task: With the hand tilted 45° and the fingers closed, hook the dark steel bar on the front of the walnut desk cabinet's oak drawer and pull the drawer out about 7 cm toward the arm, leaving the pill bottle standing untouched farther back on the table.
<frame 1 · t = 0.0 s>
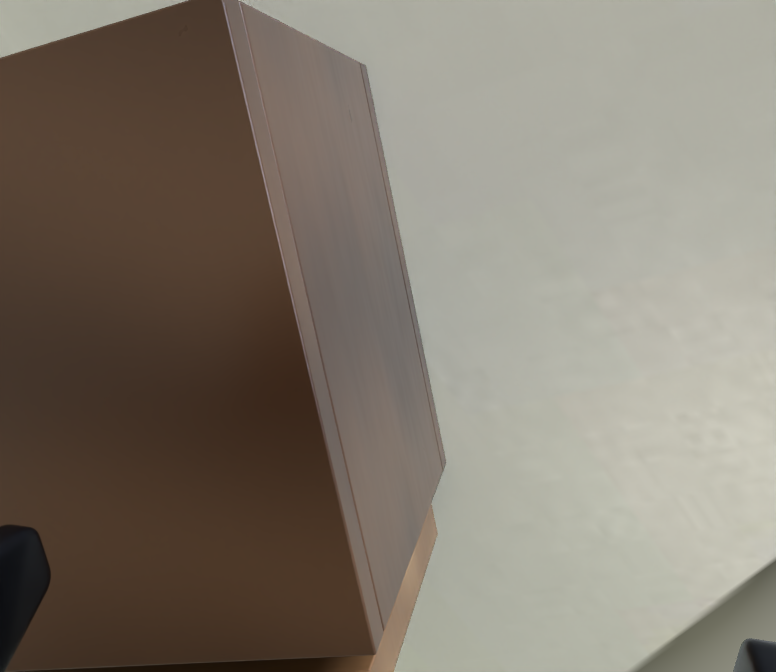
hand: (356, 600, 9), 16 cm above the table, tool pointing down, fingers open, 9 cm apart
drawer: (206, 502, 22), point 5 cm above the table, slide at 1.0 cm
cabinet: (238, 304, 26), on the table
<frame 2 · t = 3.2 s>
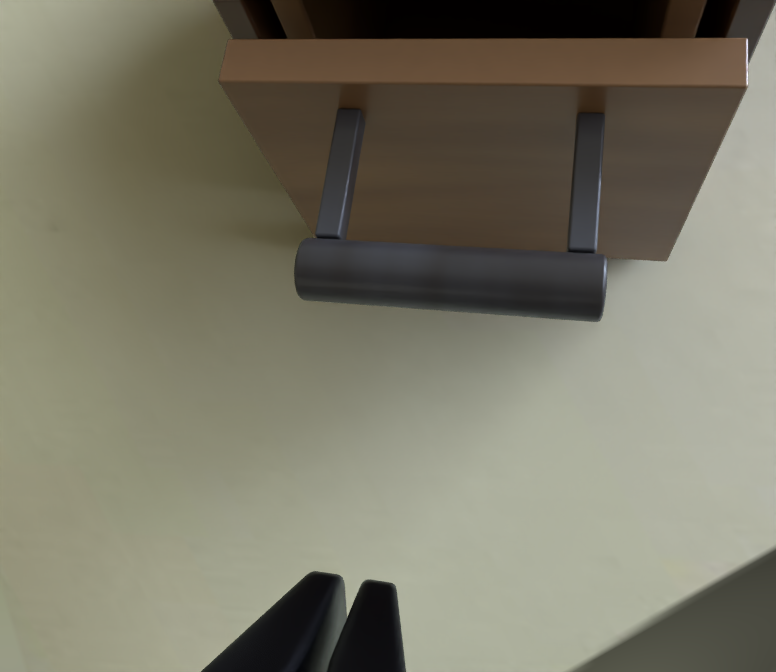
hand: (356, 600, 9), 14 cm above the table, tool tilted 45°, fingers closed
drawer: (489, 63, 21), point 5 cm above the table, slide at 1.0 cm
cabinet: (508, 40, 27), on the table
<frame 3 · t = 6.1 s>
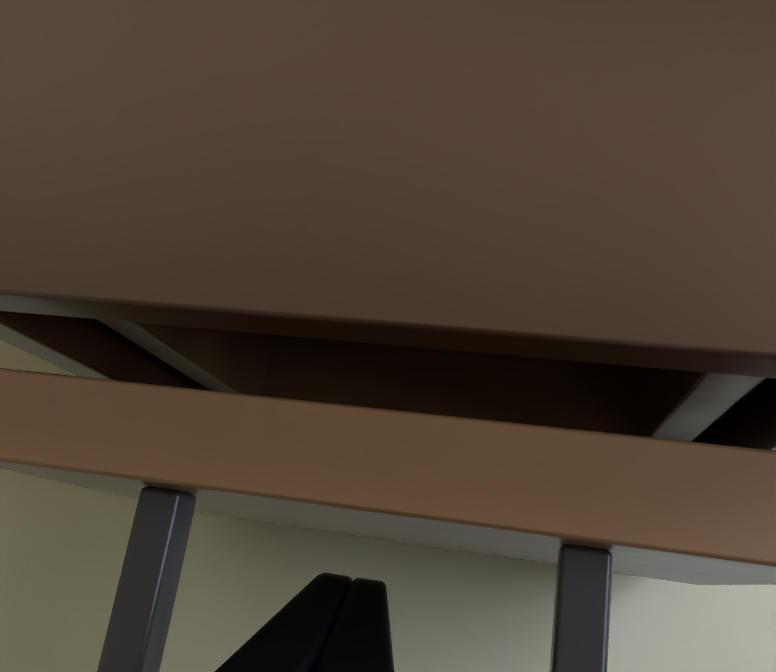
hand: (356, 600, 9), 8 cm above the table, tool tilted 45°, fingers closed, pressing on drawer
drawer: (431, 317, 14), point 5 cm above the table, slide at 0.7 cm, touching gripper
cabinet: (475, 217, 20), on the table
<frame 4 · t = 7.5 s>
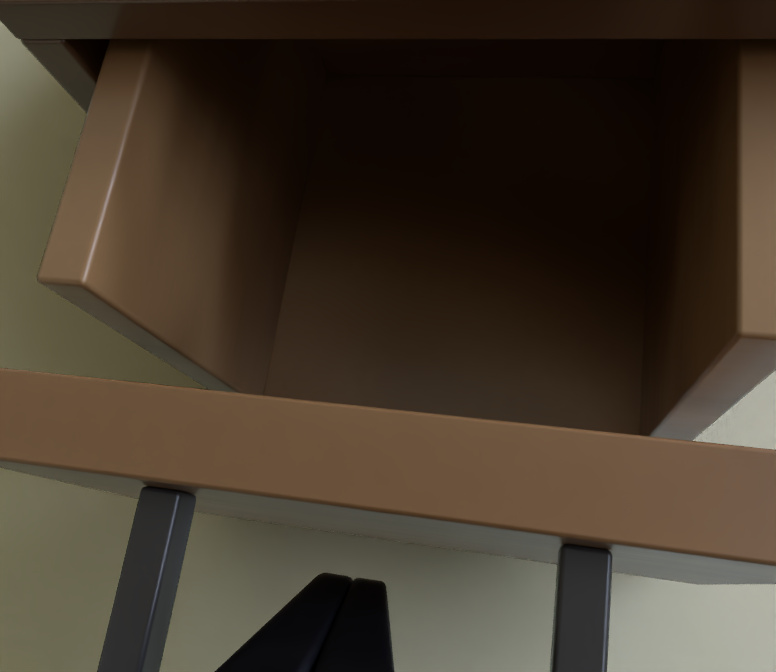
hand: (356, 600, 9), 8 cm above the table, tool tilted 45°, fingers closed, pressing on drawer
drawer: (431, 317, 14), point 5 cm above the table, slide at 5.1 cm, touching gripper
cabinet: (492, 81, 21), on the table
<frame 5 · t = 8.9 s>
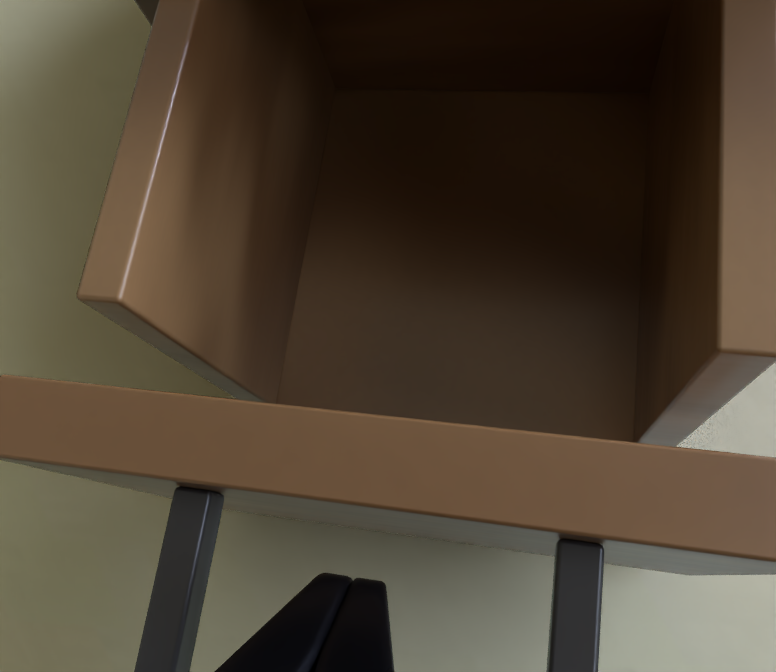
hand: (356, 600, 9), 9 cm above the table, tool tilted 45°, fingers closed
drawer: (437, 326, 14), point 5 cm above the table, slide at 7.8 cm
cabinet: (502, 19, 23), on the table
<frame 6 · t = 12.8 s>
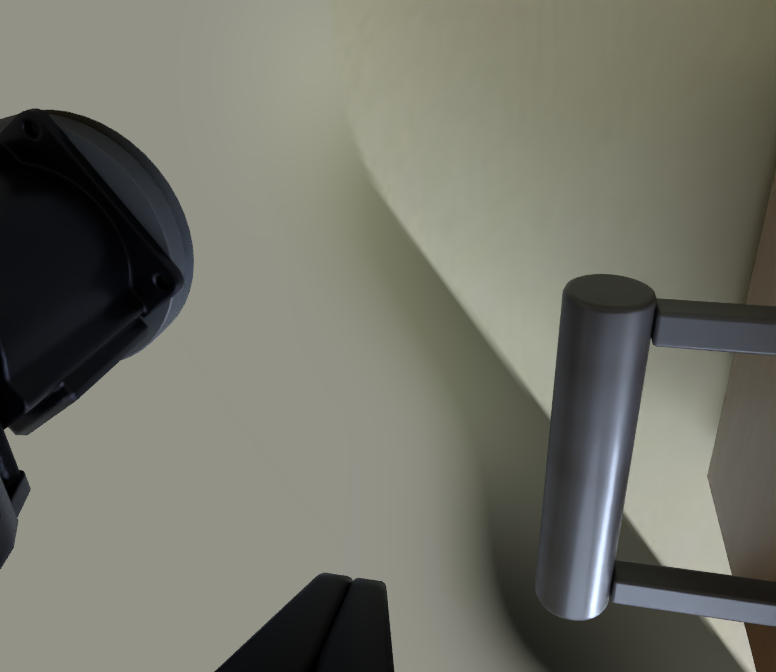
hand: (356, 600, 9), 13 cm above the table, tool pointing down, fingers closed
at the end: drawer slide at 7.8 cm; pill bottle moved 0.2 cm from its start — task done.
